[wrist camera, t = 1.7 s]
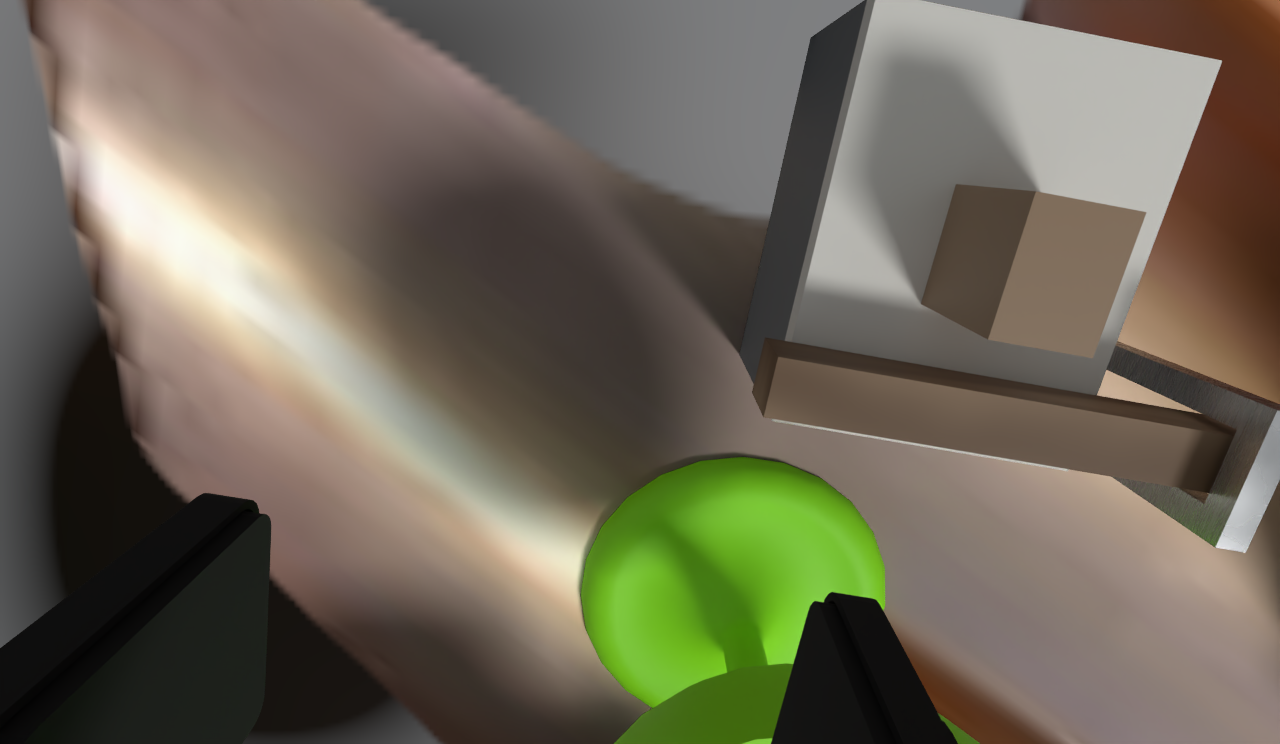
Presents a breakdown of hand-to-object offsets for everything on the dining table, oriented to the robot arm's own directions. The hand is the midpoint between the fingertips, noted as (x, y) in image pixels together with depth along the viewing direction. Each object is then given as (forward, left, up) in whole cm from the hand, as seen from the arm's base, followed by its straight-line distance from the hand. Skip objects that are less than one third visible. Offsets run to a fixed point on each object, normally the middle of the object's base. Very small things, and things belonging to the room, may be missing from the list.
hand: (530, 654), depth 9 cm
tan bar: (0, +14, -16) cm, 21 cm away
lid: (-5, +12, -19) cm, 23 cm away
